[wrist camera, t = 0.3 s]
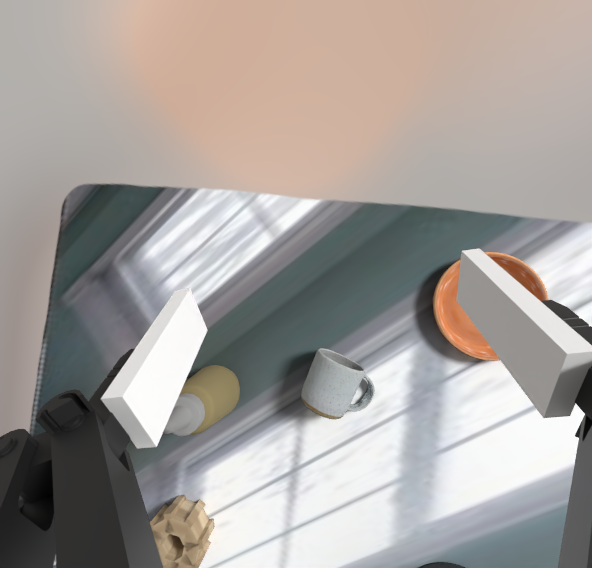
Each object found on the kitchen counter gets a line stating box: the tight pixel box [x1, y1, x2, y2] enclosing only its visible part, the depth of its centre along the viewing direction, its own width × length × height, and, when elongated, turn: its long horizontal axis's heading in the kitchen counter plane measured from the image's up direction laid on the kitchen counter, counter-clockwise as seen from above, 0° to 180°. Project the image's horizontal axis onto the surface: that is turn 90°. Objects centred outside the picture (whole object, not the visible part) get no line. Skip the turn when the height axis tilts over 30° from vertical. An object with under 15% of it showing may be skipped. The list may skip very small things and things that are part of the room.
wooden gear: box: [150, 495, 214, 568], centre depth 48 cm, size 9×9×4 cm
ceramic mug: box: [301, 349, 375, 419], centre depth 45 cm, size 11×8×8 cm
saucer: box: [433, 252, 548, 361], centre depth 46 cm, size 16×16×3 cm
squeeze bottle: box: [163, 365, 240, 436], centre depth 42 cm, size 8×8×18 cm
